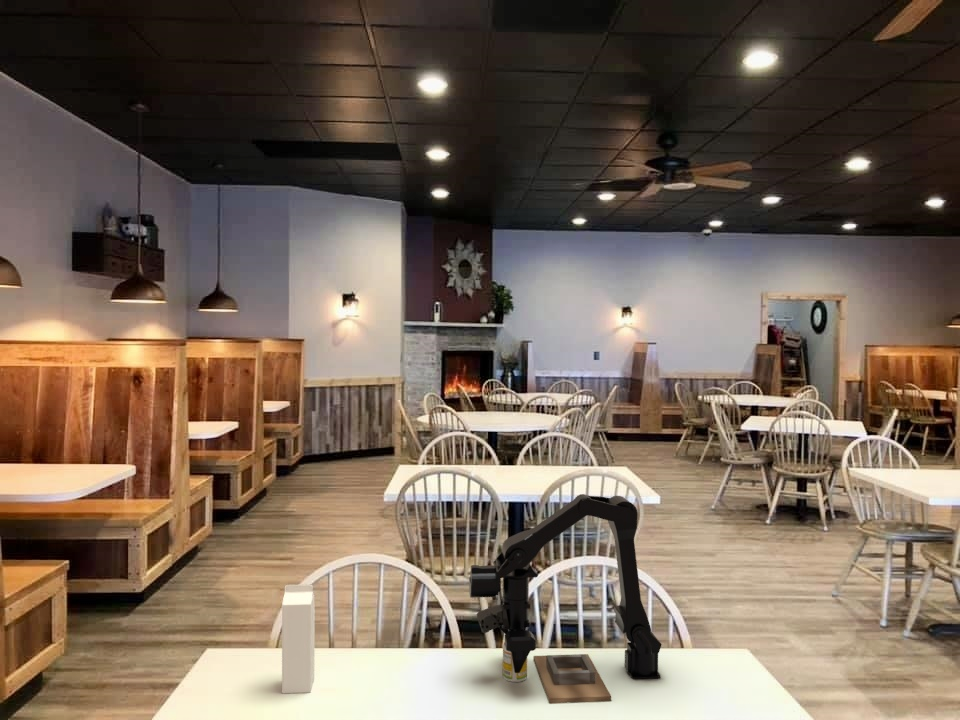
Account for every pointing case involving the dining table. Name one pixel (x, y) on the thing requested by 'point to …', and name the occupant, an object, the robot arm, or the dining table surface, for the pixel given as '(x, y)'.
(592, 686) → the can holder
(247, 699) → the dining table surface
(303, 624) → the milk
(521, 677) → the supplement bottle
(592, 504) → the robot arm
